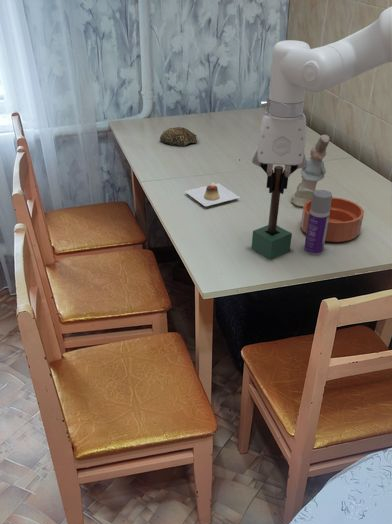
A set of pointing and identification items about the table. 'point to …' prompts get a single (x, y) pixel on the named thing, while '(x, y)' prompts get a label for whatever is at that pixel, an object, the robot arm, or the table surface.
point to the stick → (275, 199)
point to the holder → (271, 242)
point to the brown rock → (178, 136)
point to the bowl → (338, 220)
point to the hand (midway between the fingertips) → (276, 190)
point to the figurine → (312, 172)
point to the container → (318, 222)
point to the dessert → (212, 194)
